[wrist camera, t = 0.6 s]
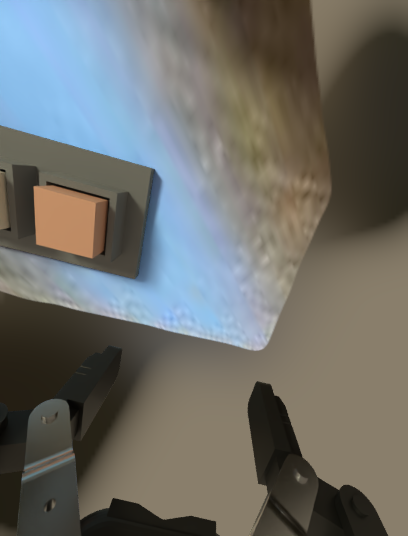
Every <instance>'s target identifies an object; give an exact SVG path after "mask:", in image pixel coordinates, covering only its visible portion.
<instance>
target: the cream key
mask: <svg viewBox="0 0 408 536" xmlns="http://www.w3.org/2000/svg"><path fill="white" fill-rule="evenodd" d="M10 227H11V224H10V213H9V203H8V192H7V181H6V172H2V171H0V230H1V229H6V228H10Z"/></svg>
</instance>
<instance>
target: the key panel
mask: <svg viewBox="0 0 408 536" xmlns="http://www.w3.org/2000/svg"><path fill="white" fill-rule="evenodd" d="M0 171H2V172H6V181H7V192H8V203H9V213H10V224H11V227H10V228H6V229H1V230H0V245H1V246H5V247H9V248H13V249H17V250H21V251H25V252H29V253H33V254H37V255H41V256H45V257H48V258H52V259H56V260H60V261H64V262H68V263H72V264H76V265H80V266H84V267H88V268H92V269H96V270H100V271H104V272H108V273H112V274H116V275H120V276H124V277H128V278H132V279H135V278H136V277H137V276H138V271H139V265H140V259H141V252H142V246H143V239H144V233H145V226H146V220H147V213H148V207H149V201H150V194H151V188H152V181H153V175H154V169H152V168H149V167H145V166H142V165H138V164H135V163H131V162H128V161H124V160H121V159H117V158H114V157H110V156H107V155H103V154H100V153H96V152H92V151H89V150H85V149H82V148H78V147H75V146H71V145H68V144H64V143H61V142H57V141H54V140H50V139H47V138H43V137H40V136H36V135H32V134H29V133H25V132H22V131H18V130H15V129H11V128H8V127H4V126H1V125H0ZM52 185H53V186H57V187H61V188H65V189H68V190H72V191H76V192H79V193H83V194H87V195H90V196H94V197H98V198H101V199H105V200H108V212H107V224H106V236H105V248H104V251H103V252H102V253H100V254H99V255H97V256H95V257H94V258H88V257H84V256H80V255H76V254H72V253H69V252H65V251H61V250H57V249H53V248H49V247H45V246H41V245H37V244H36V228H35V207H34V186H52Z"/></svg>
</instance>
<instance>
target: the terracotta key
mask: <svg viewBox="0 0 408 536" xmlns="http://www.w3.org/2000/svg"><path fill="white" fill-rule="evenodd" d="M34 207H35V228H36V244H37V245H41V246H45V247H49V248H53V249H57V250H61V251H65V252H69V253H72V254H76V255H80V256H84V257H88V258H94V257H95V256H97V255H99V254H100V253H102V252H103V251H104V248H105V236H106V224H107V212H108V200H105V199H101V198H98V197H94V196H90V195H87V194H83V193H79V192H76V191H72V190H68V189H65V188H61V187H57V186H53V185H52V186H34Z"/></svg>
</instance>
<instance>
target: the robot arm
mask: <svg viewBox="0 0 408 536" xmlns="http://www.w3.org/2000/svg"><path fill="white" fill-rule="evenodd" d="M121 355H122V348H118V347H113V346H108V347H107V348H106V349H105V351H104V352H103V353H102V354H100V353H95V354H93V355H92V356H90V357H88V358H87V359H86V360H85V361H84V363H83V364H82V365H81V367H79V368H78V370H77V371H76V373H74V374H73V376H72V377H71V378H70V379H69V380H68V382H67V383H66V384H65V385H64V386H63V388H62V389H61V390H60V391H59V392H58V393H57V395H56V396H55V397H54V398H53V399H52V400H48V401H45V402H43V403H42V404H40V405H39V406H37V407H36V408H35V409H32V410H25V411H13V412H8V409H7V406H6V405H5V404H2V403H0V474H3V473H9V472H15V471H22V470H24V472H23V475H22V484H21V495H20V506H19V517H18V528H17V536H219V535H218V534H217V533H216V522H215V521H211V520H207V519H202V518H198V517H194V516H186V517H180V518H173V519H167V520H163V519H161V518H159V517H158V516H156V515H154V514H153V513H151V512H150V511H148V510H147V509H145V508H144V507H142V506H141V505H139V504H137V503H133V502H128V501H124V500H119V499H115V498H113V499H112V502H111V505H110V508H106V509H102V510H99V511H96V512H94V513H92V514H89V515H88V516H86V517H84V518H83V519H82V520H80V515H79V503H78V491H77V479H76V468H75V456H74V452H73V450H72V441H73V440H77V441H81V439H82V438H83V436H84V434H85V433H86V431H87V429H88V427H89V426H90V424H91V422H92V420H93V419H94V417H95V415H96V413H97V412H98V410H99V408H100V407H101V405H102V403H103V401H104V400H105V398H106V396H107V394H108V393H109V391H110V389H111V388H112V385H113V384H114V382H115V380H116V378H117V376H118V373H119V369H120V362H121ZM248 418H249V425H250V431H251V438H252V444H253V451H254V458H255V465H256V472H257V478H258V484H262V485H266V486H267V491H268V494H267V496H266V498H265V501H264V503H263V505H262V507H261V509H260V512H259V514H258V516H257V518H256V521H255V523H254V525H253V527H252V529H251V531H250V534H249V536H388V534H387V532H386V530H385V528H384V526H383V524H382V522H381V520H380V518H379V516H378V514H377V512H376V510H375V508H374V506H373V505H372V504H371V502H370V501H369V500H368V499H367V497H366V496H365V495H364V494H363V493H362V492H360V491H359V490H358V489H356V488H355V487H352V486H350V485H343V486H342V487H341V488H340V490H338V489H336V488H334V487H333V486H331V485H329V484H328V483H326V482H324V481H323V480H321V479H320V478H318V477H317V475H316V473H315V471H314V469H313V468H312V466H311V465H310V464H309V463H308V462H307V461H306V460H305V459H304V458H303V457H302V454H301V451H300V448H299V445H298V442H297V440H296V436H295V434H294V431H293V428H292V425H291V422H290V419H289V417H288V413H287V410H286V407H285V405H284V403H283V402H282V401H281V399H280V398H279V397H278V396H274V393H273V390H272V387H271V385H270V384H266V383H262V382H258V381H257V382H256V384H255V386H254V389H253V392H252V394H251V397H250V399H249V402H248Z"/></svg>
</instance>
